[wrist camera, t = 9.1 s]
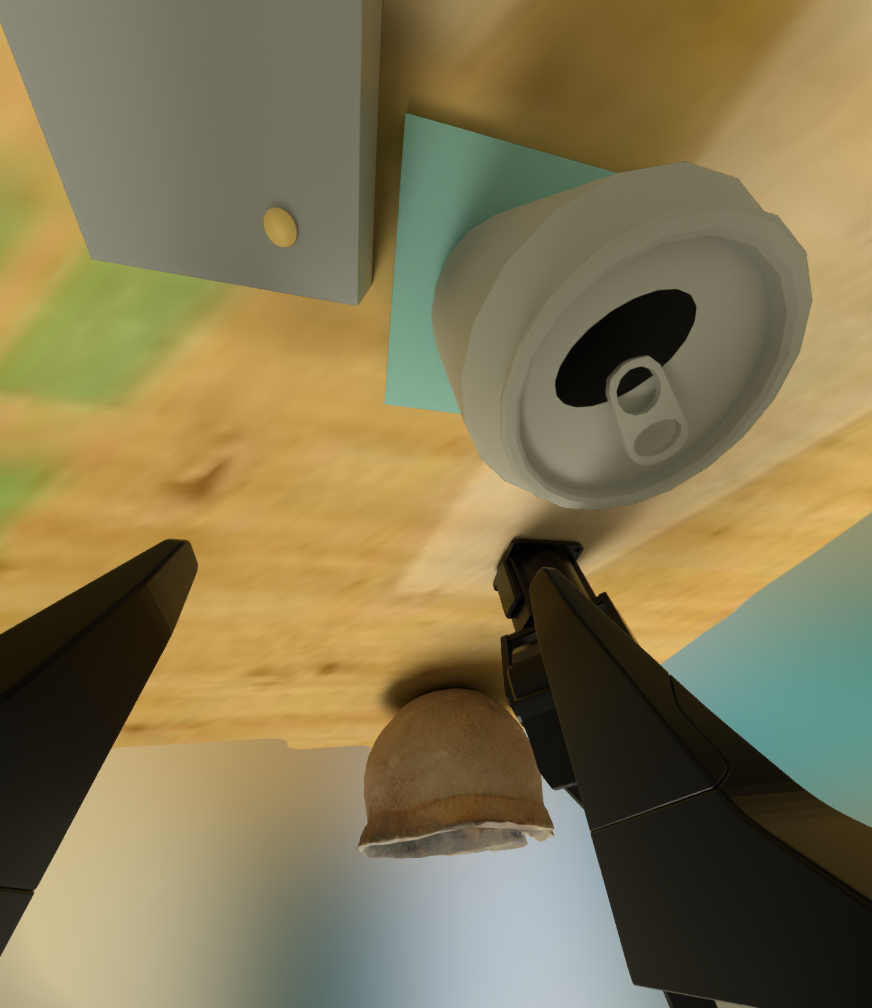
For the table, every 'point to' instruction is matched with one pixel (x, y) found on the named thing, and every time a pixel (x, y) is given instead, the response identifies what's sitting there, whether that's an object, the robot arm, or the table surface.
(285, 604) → the table surface
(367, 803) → the ceramic bowl
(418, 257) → the mat
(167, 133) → the unit
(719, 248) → the can
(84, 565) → the table surface
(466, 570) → the table surface
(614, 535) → the table surface
